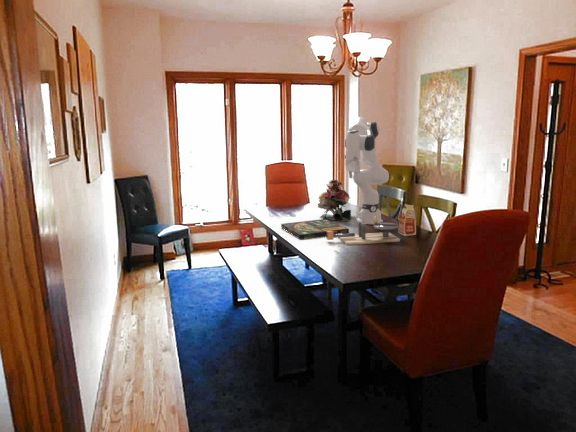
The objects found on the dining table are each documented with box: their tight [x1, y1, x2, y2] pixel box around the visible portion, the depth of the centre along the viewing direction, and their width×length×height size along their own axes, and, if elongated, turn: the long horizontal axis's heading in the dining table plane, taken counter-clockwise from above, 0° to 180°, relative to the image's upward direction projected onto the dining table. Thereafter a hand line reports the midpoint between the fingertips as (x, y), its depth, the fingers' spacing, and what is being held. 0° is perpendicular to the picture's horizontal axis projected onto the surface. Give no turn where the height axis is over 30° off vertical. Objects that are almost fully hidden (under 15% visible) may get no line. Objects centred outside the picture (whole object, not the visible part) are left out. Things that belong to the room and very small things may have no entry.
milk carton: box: [397, 203, 417, 237], centre depth 282 cm, size 9×9×20 cm
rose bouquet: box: [317, 179, 352, 223], centre depth 334 cm, size 26×29×30 cm
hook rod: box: [325, 231, 356, 241], centre depth 269 cm, size 4×17×5 cm, turn 98°
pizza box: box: [280, 218, 350, 240], centre depth 299 cm, size 35×35×4 cm
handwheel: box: [372, 217, 399, 231], centre depth 270 cm, size 15×15×6 cm
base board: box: [338, 221, 401, 246], centre depth 271 cm, size 18×34×11 cm, turn 98°
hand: (352, 178), depth 273 cm, fingers open, 8 cm apart
